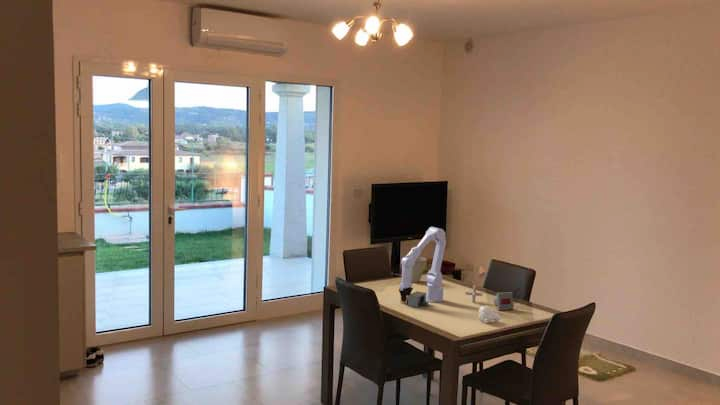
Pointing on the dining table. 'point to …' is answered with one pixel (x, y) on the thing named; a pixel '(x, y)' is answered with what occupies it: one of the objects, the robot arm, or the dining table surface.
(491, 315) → the white lumpy piece
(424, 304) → the plug
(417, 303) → the housing
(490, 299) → the dining table surface
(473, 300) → the toy jack
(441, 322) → the dining table surface
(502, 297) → the voltmeter
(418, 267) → the plant pot
